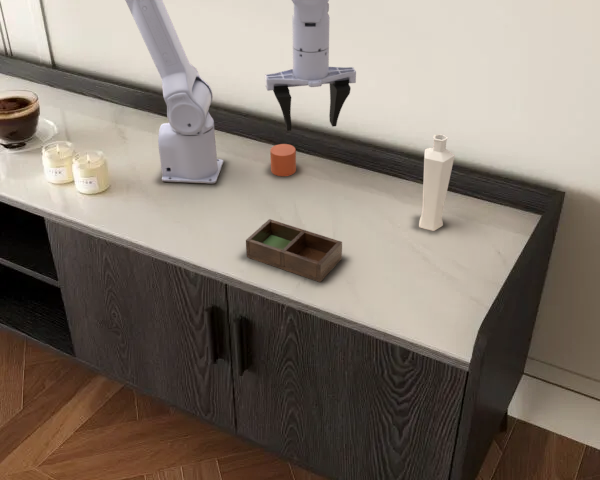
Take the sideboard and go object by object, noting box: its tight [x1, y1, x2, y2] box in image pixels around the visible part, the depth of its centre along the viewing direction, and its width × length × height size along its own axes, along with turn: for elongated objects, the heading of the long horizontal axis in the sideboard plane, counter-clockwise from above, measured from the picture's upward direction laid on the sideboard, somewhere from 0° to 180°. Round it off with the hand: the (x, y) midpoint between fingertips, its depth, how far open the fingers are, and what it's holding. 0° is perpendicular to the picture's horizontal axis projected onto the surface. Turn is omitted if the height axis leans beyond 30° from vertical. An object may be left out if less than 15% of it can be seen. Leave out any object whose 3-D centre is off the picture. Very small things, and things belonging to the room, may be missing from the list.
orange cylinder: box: [269, 143, 297, 177], centre depth 133 cm, size 4×4×4 cm
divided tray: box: [245, 218, 343, 283], centre depth 113 cm, size 13×7×3 cm, turn 60°
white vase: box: [418, 133, 455, 232], centre depth 116 cm, size 5×4×15 cm
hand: (310, 126), depth 128 cm, fingers open, 7 cm apart
